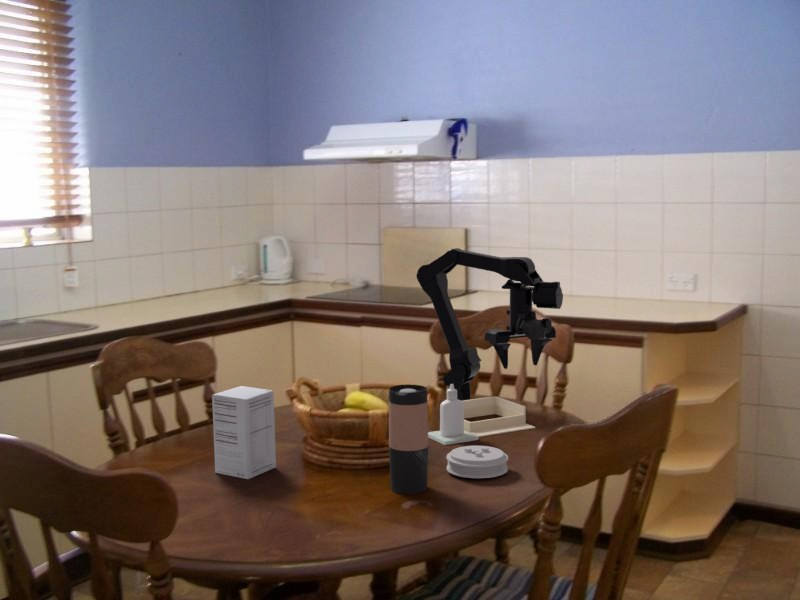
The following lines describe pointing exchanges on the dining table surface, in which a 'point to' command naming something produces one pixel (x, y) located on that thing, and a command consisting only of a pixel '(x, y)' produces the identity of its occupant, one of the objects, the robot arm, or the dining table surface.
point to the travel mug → (408, 438)
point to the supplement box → (244, 431)
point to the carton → (508, 422)
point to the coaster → (452, 438)
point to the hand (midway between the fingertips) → (520, 366)
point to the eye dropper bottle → (451, 414)
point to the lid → (477, 462)
